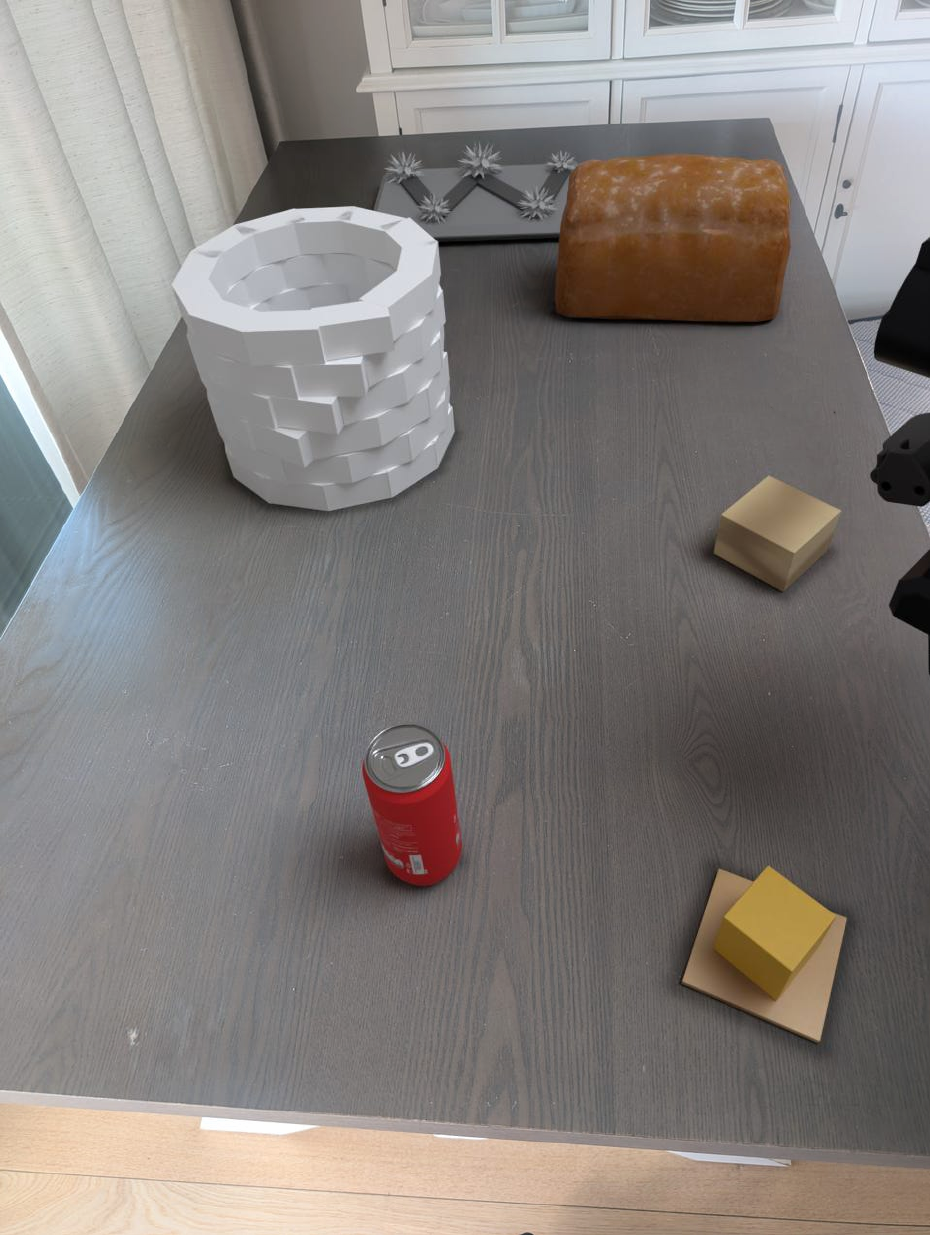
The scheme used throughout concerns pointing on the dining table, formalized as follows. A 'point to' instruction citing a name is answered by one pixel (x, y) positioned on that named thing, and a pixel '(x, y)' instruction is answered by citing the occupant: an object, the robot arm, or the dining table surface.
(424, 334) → the basket
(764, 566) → the birch block
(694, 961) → the cork coaster
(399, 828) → the beverage can
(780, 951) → the mustard cube
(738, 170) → the bread
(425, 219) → the decorative plate
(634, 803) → the dining table surface
